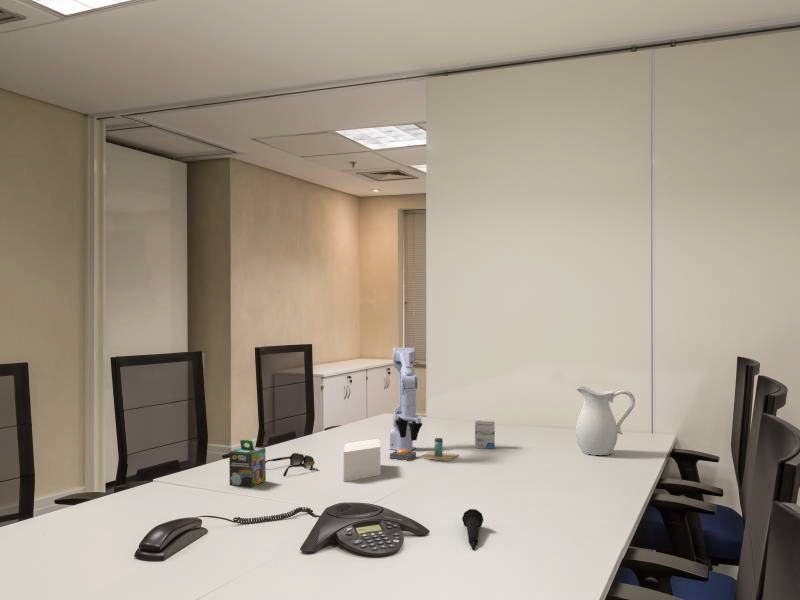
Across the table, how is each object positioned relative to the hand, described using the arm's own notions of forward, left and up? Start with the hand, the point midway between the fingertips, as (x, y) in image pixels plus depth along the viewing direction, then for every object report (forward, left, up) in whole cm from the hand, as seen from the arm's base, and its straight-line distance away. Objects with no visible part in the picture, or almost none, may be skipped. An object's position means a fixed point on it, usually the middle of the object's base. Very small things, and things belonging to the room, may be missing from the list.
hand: (408, 438), depth 273 cm
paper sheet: (+10, +8, -8) cm, 15 cm away
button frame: (-2, -1, -8) cm, 8 cm away
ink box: (+21, +36, -8) cm, 42 cm away
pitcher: (+71, +45, -8) cm, 84 cm away
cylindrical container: (+10, +8, -7) cm, 15 cm away
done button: (-2, -1, -6) cm, 7 cm away
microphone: (+53, -82, -8) cm, 98 cm away
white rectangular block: (-5, -31, -8) cm, 33 cm away
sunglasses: (-31, -39, -8) cm, 51 cm away
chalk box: (-33, -62, -8) cm, 71 cm away
